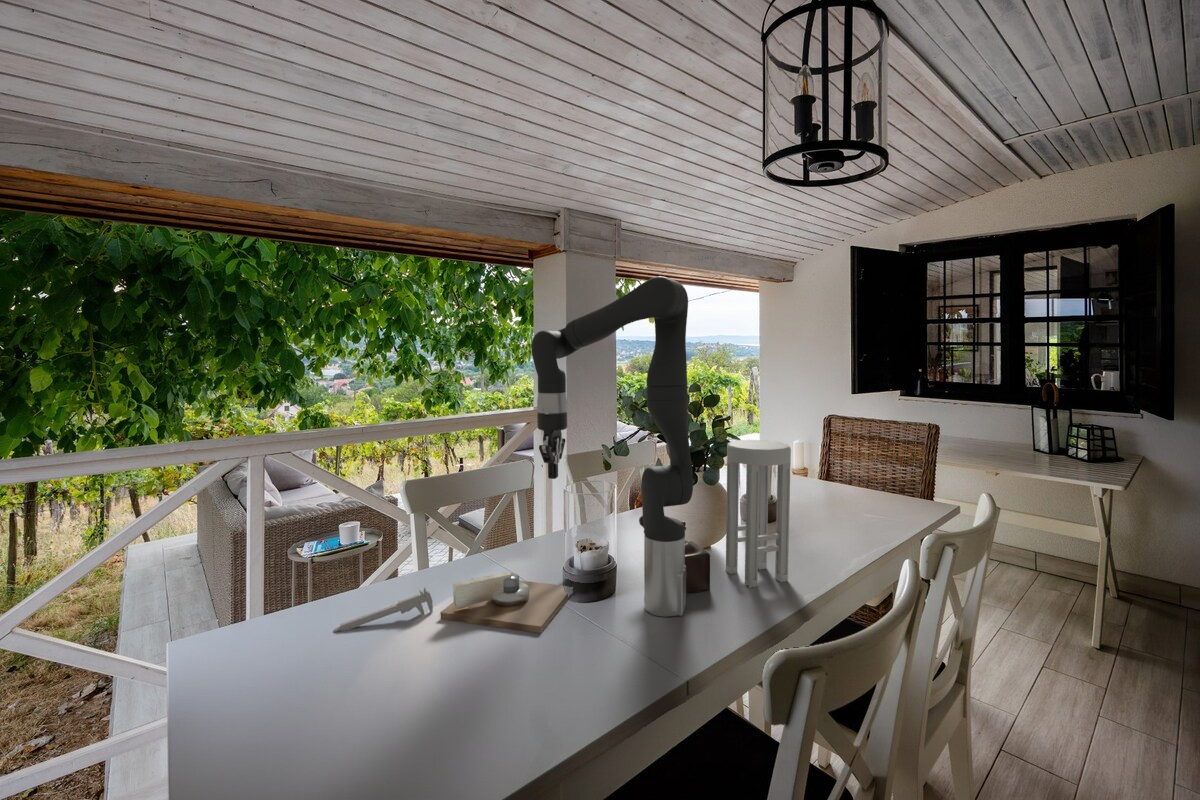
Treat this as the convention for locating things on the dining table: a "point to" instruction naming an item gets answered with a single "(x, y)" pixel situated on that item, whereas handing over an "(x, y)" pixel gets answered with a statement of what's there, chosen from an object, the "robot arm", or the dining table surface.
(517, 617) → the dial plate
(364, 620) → the caliper
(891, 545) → the dining table surface
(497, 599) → the beige bar and knob
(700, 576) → the dark brown wooden box
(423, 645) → the dining table surface
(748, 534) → the stool
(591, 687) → the dining table surface
